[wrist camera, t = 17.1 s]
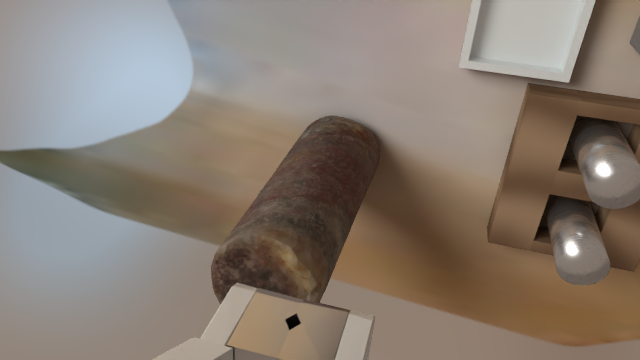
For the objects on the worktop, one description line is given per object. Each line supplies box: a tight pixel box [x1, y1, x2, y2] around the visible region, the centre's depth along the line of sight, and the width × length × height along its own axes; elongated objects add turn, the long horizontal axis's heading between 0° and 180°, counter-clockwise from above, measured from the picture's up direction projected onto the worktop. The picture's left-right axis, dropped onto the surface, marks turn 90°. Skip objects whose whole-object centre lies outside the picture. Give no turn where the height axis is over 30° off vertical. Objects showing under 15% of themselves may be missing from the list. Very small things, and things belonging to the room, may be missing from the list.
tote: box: [459, 0, 596, 83], centre depth 37 cm, size 9×8×2 cm
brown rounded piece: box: [211, 116, 379, 304], centre depth 39 cm, size 8×7×20 cm
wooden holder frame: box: [487, 83, 640, 271], centre depth 42 cm, size 14×12×2 cm
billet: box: [570, 117, 640, 209], centre depth 38 cm, size 4×4×8 cm
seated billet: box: [545, 195, 610, 285], centre depth 41 cm, size 4×4×8 cm
